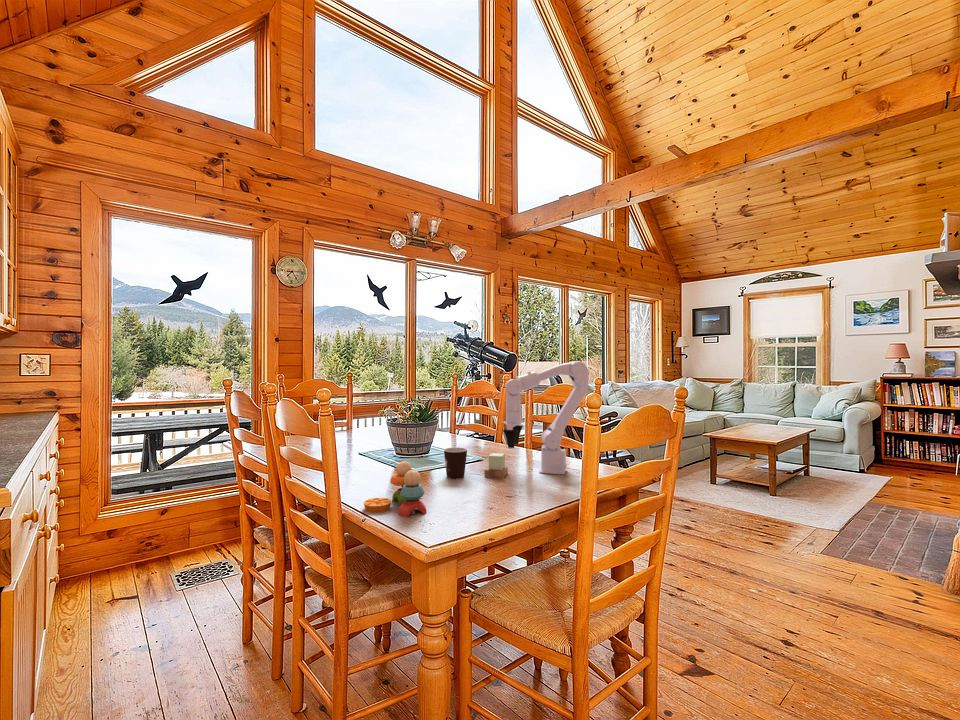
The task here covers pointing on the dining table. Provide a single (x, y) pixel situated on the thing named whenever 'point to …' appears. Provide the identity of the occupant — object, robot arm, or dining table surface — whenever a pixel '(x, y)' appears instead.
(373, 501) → the stacking toy
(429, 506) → the dining table surface
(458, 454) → the coffee mug
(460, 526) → the dining table surface
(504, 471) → the walnut block
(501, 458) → the green cube
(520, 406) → the robot arm
